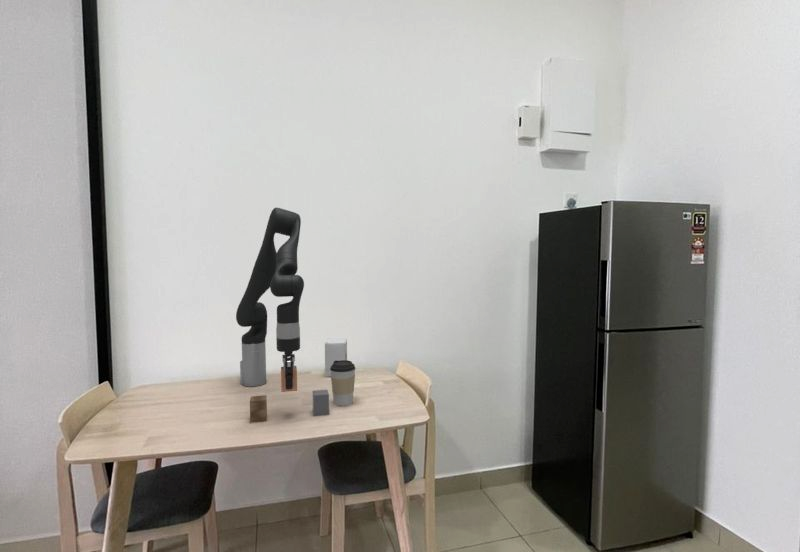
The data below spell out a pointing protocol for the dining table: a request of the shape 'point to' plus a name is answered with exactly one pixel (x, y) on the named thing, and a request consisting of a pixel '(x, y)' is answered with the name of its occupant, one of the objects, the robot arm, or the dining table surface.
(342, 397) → the coffee cup
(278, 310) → the robot arm
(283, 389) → the terracotta block
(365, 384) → the dining table surface
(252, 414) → the walnut block
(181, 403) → the dining table surface
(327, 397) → the charcoal block
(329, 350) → the supplement box
